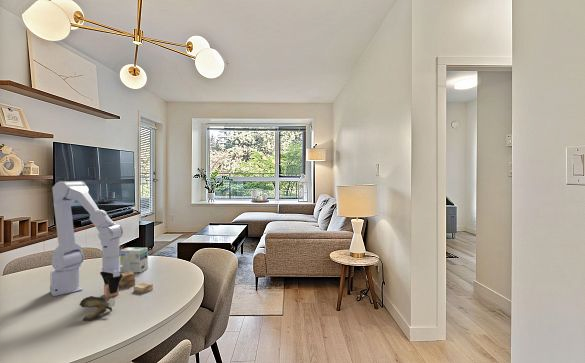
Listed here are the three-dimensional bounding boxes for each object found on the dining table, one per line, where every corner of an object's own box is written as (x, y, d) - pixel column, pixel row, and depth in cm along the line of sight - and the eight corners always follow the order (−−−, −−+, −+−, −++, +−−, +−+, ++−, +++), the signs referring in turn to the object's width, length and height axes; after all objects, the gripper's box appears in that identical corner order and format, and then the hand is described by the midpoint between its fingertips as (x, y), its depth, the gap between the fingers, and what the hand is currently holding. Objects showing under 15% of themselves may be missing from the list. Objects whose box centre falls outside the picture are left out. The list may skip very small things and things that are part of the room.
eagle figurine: (104, 303, 109) (75, 308, 102) (113, 288, 108) (85, 291, 100) (111, 320, 105) (82, 326, 98) (120, 304, 104) (92, 309, 96)
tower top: (121, 282, 128) (121, 276, 128) (118, 279, 132) (118, 273, 132) (134, 279, 131) (134, 273, 131) (131, 276, 135) (131, 271, 135)
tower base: (122, 288, 128) (122, 282, 128) (118, 285, 132) (118, 279, 132) (135, 285, 131) (135, 279, 131) (131, 282, 135) (131, 276, 135)
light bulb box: (148, 268, 154) (148, 247, 154) (140, 273, 148) (140, 250, 147) (128, 268, 155) (128, 246, 155) (119, 272, 149) (119, 249, 149)
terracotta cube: (106, 297, 118) (106, 287, 117) (104, 294, 120) (104, 284, 120) (118, 295, 120) (118, 284, 120) (115, 292, 123) (115, 282, 123)
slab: (142, 294, 122) (141, 288, 122) (133, 292, 124) (133, 286, 124) (152, 290, 126) (152, 284, 126) (144, 288, 128) (144, 282, 128)
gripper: (128, 257, 118) (128, 293, 118) (116, 251, 128) (117, 283, 128) (107, 261, 113) (107, 298, 113) (97, 254, 123) (97, 288, 123)
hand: (111, 291), depth 120 cm, fingers open, 5 cm apart
